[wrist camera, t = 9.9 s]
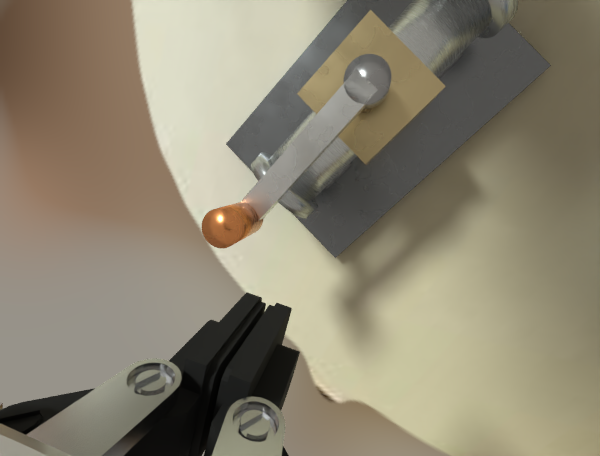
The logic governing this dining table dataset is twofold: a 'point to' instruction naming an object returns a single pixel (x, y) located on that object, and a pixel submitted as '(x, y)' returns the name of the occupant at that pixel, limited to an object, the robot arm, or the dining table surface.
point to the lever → (301, 151)
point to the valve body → (389, 104)
